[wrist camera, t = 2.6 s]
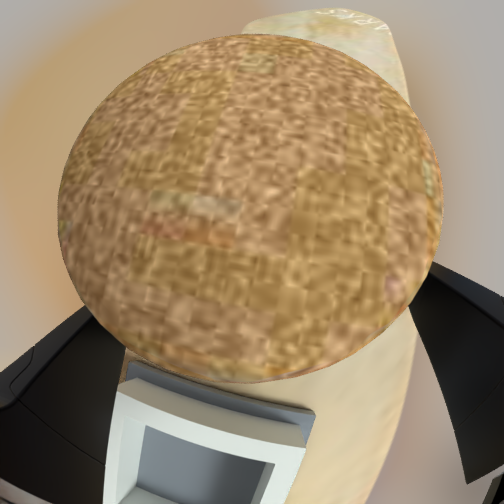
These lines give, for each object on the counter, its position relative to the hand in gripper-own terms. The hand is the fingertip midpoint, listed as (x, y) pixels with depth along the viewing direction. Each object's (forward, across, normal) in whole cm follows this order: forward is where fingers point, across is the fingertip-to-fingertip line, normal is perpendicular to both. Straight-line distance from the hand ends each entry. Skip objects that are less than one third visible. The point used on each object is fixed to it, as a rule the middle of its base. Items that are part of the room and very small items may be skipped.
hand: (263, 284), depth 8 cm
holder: (-1, +5, +14) cm, 15 cm away
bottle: (+7, 0, +6) cm, 9 cm away
